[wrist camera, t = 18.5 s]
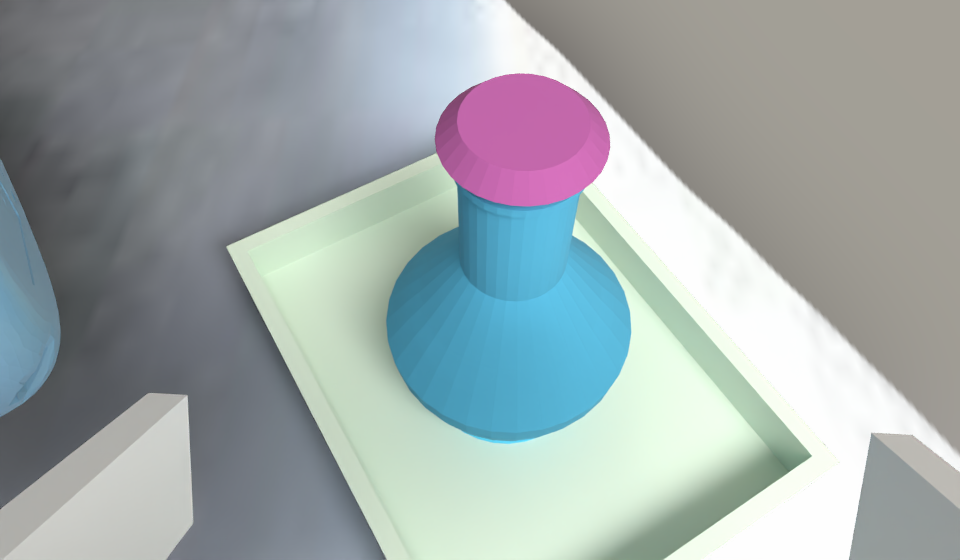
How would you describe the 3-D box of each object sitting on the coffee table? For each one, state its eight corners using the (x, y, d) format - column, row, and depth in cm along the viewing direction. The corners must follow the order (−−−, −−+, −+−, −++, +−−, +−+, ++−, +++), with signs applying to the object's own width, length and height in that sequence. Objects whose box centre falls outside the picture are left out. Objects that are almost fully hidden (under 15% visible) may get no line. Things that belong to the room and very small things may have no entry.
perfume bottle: (381, 301, 33) (322, 31, 21) (574, 262, 34) (631, -16, 22) (420, 499, 29) (375, 306, 16) (642, 445, 30) (766, 226, 17)
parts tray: (244, 282, 35) (226, 246, 32) (526, 152, 39) (529, 111, 37) (471, 724, 25) (471, 722, 23) (808, 486, 30) (839, 462, 27)
